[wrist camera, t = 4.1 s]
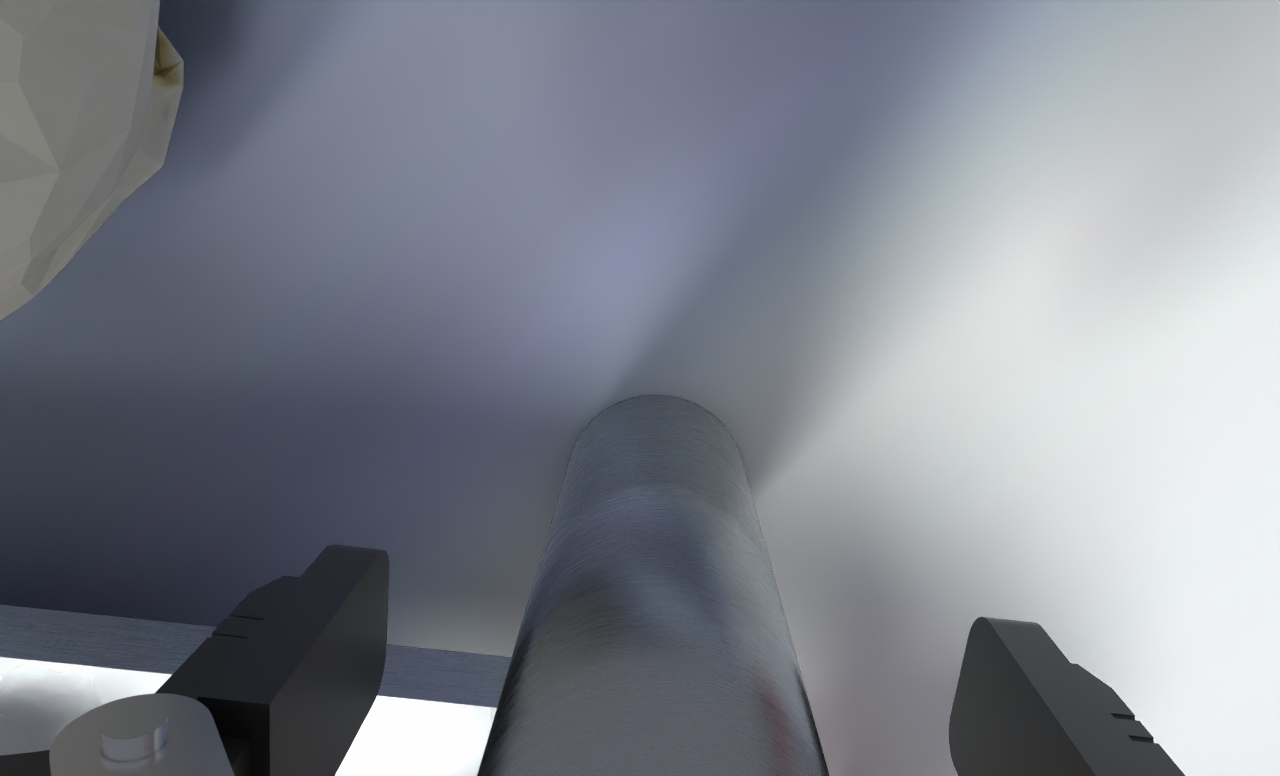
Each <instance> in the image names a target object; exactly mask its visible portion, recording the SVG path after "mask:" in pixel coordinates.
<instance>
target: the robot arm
mask: <svg viewBox="0 0 1280 776" xmlns="http://www.w3.org/2000/svg"><path fill="white" fill-rule="evenodd" d="M388 586H389V560H388V555H387V553H386V551H385V550H377V549H368V548H359V547H350V546H341V545H329V546H327V547H326V548H325V549H324V551H323V552H322V553H321V554H320V555H319V556H318V557H317V559H316V560H315V561H314V562H313V563H312V564H311V566H310V567H309V568H308V569H307V570H306V571H305V572H304V574H303V575H302V576H301V577H300V578H299V577H289V576H282V577H280V578H278V579H276V580H274V581H272V582H270V583H268V584H266V585H264V586H263V587H261V588H259V589H257V590H255V591H253V592H251V593H249V595H248V596H247V597H246V598H245V599H244V600H243V601H242V602H241V603H240V604H239V605H238V606H237V607H236V608H235V609H234V610H233V611H232V612H231V613H230V614H229V619H225V620H224V621H223V622H222V623H221V624H220V625H219V626H218V627H217V628H216V629H215V630H214V631H213V632H212V636H211V638H207V639H206V640H205V641H204V642H203V643H202V644H201V645H200V646H199V647H198V648H197V649H196V650H195V651H194V652H193V653H192V654H191V655H190V657H189V658H188V659H187V660H186V661H185V662H184V663H183V664H182V665H181V666H180V667H179V668H178V669H177V670H176V671H175V672H174V673H173V674H172V675H171V676H170V678H169V679H168V680H167V681H166V682H165V683H164V684H163V685H162V686H161V687H160V688H159V689H158V690H157V691H156V692H155V693H154V694H143V695H136V696H131V697H126V698H122V699H118V700H115V701H111V702H109V703H106V704H103V705H101V706H98V707H96V708H94V709H92V710H90V711H88V712H86V713H84V714H83V715H81V716H79V717H78V718H76V719H75V720H73V721H72V722H71V723H69V724H68V725H67V726H66V727H65V728H64V729H63V730H62V731H61V732H60V733H59V734H58V735H57V737H56V738H55V740H54V741H53V743H52V746H51V748H50V750H45V751H38V752H29V753H20V754H10V755H0V776H335V775H336V773H337V771H338V769H339V767H340V766H341V764H342V762H343V760H344V758H345V756H346V754H347V752H348V751H349V749H350V747H351V745H352V743H353V741H354V739H355V737H356V736H357V734H358V732H359V730H360V728H361V726H362V724H363V722H364V721H365V719H366V717H367V715H368V713H369V711H370V709H371V707H372V706H373V704H374V702H375V700H376V697H377V695H378V692H379V689H380V685H381V681H382V677H383V672H384V667H385V659H386V642H387V614H388ZM949 744H950V752H951V757H952V761H953V764H954V767H955V769H956V771H957V773H958V775H959V776H1185V775H1184V774H1183V773H1182V771H1181V770H1180V769H1179V768H1178V767H1177V765H1176V764H1175V763H1174V762H1173V761H1172V759H1171V758H1170V757H1169V756H1168V755H1167V753H1166V752H1165V751H1164V750H1163V749H1162V747H1161V746H1160V745H1159V744H1156V743H1154V742H1153V737H1152V736H1151V734H1150V733H1149V732H1148V731H1147V730H1146V728H1145V727H1144V726H1143V725H1142V724H1141V722H1140V721H1135V715H1134V714H1133V713H1132V712H1131V710H1130V709H1129V708H1128V707H1127V706H1126V705H1125V703H1124V702H1123V701H1122V700H1121V699H1120V697H1119V696H1118V695H1117V694H1116V693H1115V691H1114V690H1113V689H1112V688H1110V687H1109V686H1108V685H1106V684H1105V683H1103V682H1102V681H1101V680H1099V679H1098V678H1096V677H1095V676H1093V675H1092V674H1091V673H1089V672H1088V671H1086V670H1085V669H1084V668H1082V667H1081V666H1079V665H1078V664H1071V663H1070V662H1069V661H1068V659H1067V658H1066V657H1065V656H1064V654H1063V653H1062V652H1061V651H1060V649H1059V648H1058V647H1057V646H1056V644H1055V643H1054V642H1053V641H1052V639H1051V638H1050V637H1049V636H1048V634H1047V633H1046V632H1045V631H1044V629H1043V628H1042V627H1041V626H1040V625H1039V624H1037V623H1032V622H1023V621H1014V620H1004V619H995V618H986V617H979V618H978V619H976V620H975V622H974V623H973V625H972V627H971V630H970V633H969V636H968V641H967V645H966V650H965V654H964V658H963V663H962V667H961V672H960V676H959V681H958V685H957V689H956V694H955V698H954V703H953V707H952V712H951V717H950V724H949Z"/></svg>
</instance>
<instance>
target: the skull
mask: <svg viewBox="0 0 1280 776" xmlns="http://www.w3.org/2000/svg"><path fill="white" fill-rule="evenodd" d="M159 8H160V0H0V321H1V320H2V319H4V318H5V317H7V316H8V315H10V314H11V313H12V312H14V311H15V310H17V309H18V308H20V307H21V306H22V305H24V304H25V303H27V302H28V301H30V300H31V299H32V298H34V297H35V296H36V295H37V294H38V293H39V292H40V291H41V290H42V289H43V288H44V287H45V286H46V285H47V284H48V283H49V282H50V281H51V280H52V279H53V278H54V277H55V276H56V275H57V274H58V273H59V272H60V271H61V270H62V269H63V268H64V267H65V266H66V265H67V264H68V263H69V261H70V260H71V259H72V258H73V257H74V256H75V255H76V254H77V252H78V251H79V250H80V249H81V248H82V247H83V246H84V245H85V243H86V242H87V241H88V240H89V239H90V238H91V237H92V235H93V234H94V233H95V232H96V231H97V230H98V229H99V228H100V226H101V225H102V224H103V223H104V222H105V221H106V220H107V218H108V217H109V216H110V215H111V214H112V213H113V212H114V211H115V209H116V208H117V207H118V206H119V205H120V204H121V203H122V201H124V200H125V199H126V198H127V197H128V196H129V195H131V194H132V193H133V192H134V191H135V190H136V189H137V188H139V187H140V186H141V185H142V184H143V183H144V182H146V181H147V180H148V179H149V178H150V177H151V176H153V175H154V174H155V173H156V172H157V171H158V170H159V169H161V168H162V167H163V165H164V161H165V157H166V153H167V150H168V146H169V142H170V138H171V134H172V130H173V126H174V122H175V119H176V115H177V111H178V107H179V103H180V99H181V95H182V91H183V82H184V61H183V59H182V58H181V56H180V55H179V54H178V52H177V51H176V50H175V48H174V47H173V45H172V44H171V43H170V41H169V40H168V38H167V37H166V36H165V34H164V33H163V32H162V30H161V29H160V27H159V26H158V19H159Z"/></svg>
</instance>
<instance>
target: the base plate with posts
mask: <svg viewBox="0 0 1280 776" xmlns="http://www.w3.org/2000/svg"><path fill="white" fill-rule="evenodd" d="M216 628H217V627H213V626H203V625H194V624H184V623H174V622H164V621H155V620H145V619H135V618H125V617H116V616H106V615H96V614H87V613H77V612H67V611H57V610H48V609H38V608H28V607H18V606H9V605H0V755H10V754H20V753H29V752H38V751H45V750H50V748H51V746H52V743H53V741H54V740H55V738H56V737H57V735H58V734H59V733H60V732H61V731H62V730H63V729H64V728H65V727H66V726H67V725H68V724H69V723H71V722H72V721H73V720H75V719H76V718H78V717H79V716H81V715H83V714H84V713H86V712H88V711H90V710H92V709H94V708H96V707H98V706H101V705H103V704H106V703H109V702H111V701H115V700H118V699H122V698H126V697H131V696H136V695H143V694H154V693H155V692H156V691H157V690H158V689H159V688H160V687H161V686H162V685H163V684H164V683H165V682H166V681H167V680H168V679H169V678H170V676H171V675H172V674H173V673H174V672H175V671H176V670H177V669H178V668H179V667H180V666H181V665H182V664H183V663H184V662H185V661H186V660H187V659H188V658H189V657H190V655H191V654H192V653H193V652H194V651H195V650H196V649H197V648H198V647H199V646H200V645H201V644H202V643H203V642H204V641H205V640H206V639H207V638H211V636H212V632H213V631H214V630H215V629H216ZM511 659H512V657H505V656H495V655H485V654H476V653H466V652H456V651H446V650H437V649H427V648H417V647H408V646H398V645H388V644H386V659H385V667H384V672H383V677H382V681H381V685H380V689H379V692H378V695H377V697H376V700H375V702H374V704H373V706H372V707H371V709H370V711H369V713H368V715H367V717H366V719H365V721H364V722H363V724H362V726H361V728H360V730H359V732H358V734H357V736H356V737H355V739H354V741H353V743H352V745H351V747H350V749H349V751H348V752H347V754H346V756H345V758H344V760H343V762H342V764H341V766H340V767H339V769H338V771H337V773H336V775H335V776H477V774H478V771H479V767H480V764H481V761H482V757H483V754H484V750H485V747H486V744H487V740H488V737H489V733H490V730H491V727H492V723H493V720H494V716H495V713H496V710H497V706H498V703H499V699H500V696H501V693H502V689H503V686H504V682H505V679H506V676H507V672H508V669H509V665H510V662H511Z"/></svg>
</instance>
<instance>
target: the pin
mask: <svg viewBox="0 0 1280 776" xmlns="http://www.w3.org/2000/svg"><path fill="white" fill-rule="evenodd" d="M477 776H829V773H828V769H827V765H826V762H825V758H824V754H823V751H822V747H821V744H820V740H819V736H818V733H817V729H816V726H815V722H814V718H813V715H812V711H811V708H810V704H809V700H808V697H807V693H806V690H805V686H804V682H803V679H802V675H801V671H800V668H799V664H798V661H797V657H796V653H795V650H794V646H793V643H792V639H791V635H790V632H789V628H788V625H787V621H786V617H785V614H784V610H783V607H782V603H781V599H780V596H779V592H778V588H777V585H776V581H775V578H774V574H773V570H772V567H771V563H770V560H769V556H768V552H767V549H766V545H765V542H764V538H763V534H762V531H761V527H760V524H759V520H758V516H757V513H756V509H755V506H754V502H753V498H752V495H751V491H750V487H749V484H748V480H747V477H746V473H745V469H744V466H743V462H742V459H741V455H740V453H739V450H738V447H737V445H736V443H735V441H734V439H733V437H732V436H731V434H730V433H729V431H728V430H727V429H726V427H725V426H724V425H723V424H722V423H721V422H720V421H719V420H718V419H717V418H716V417H715V416H713V415H712V414H711V413H710V412H708V411H707V410H705V409H704V408H702V407H700V406H699V405H696V404H694V403H692V402H690V401H687V400H684V399H681V398H677V397H672V396H666V395H647V396H639V397H635V398H630V399H627V400H624V401H622V402H619V403H617V404H615V405H613V406H611V407H609V408H608V409H606V410H605V411H603V412H602V413H600V414H599V415H598V416H597V417H596V418H594V419H593V420H592V421H591V422H590V423H589V425H588V426H587V427H586V428H585V429H584V431H583V432H582V434H581V435H580V437H579V438H578V440H577V442H576V444H575V446H574V449H573V451H572V455H571V458H570V461H569V465H568V468H567V472H566V475H565V478H564V482H563V485H562V489H561V492H560V495H559V499H558V502H557V506H556V509H555V512H554V516H553V519H552V523H551V526H550V529H549V533H548V536H547V540H546V543H545V546H544V550H543V553H542V557H541V560H540V563H539V567H538V570H537V574H536V577H535V580H534V584H533V587H532V591H531V594H530V597H529V601H528V604H527V608H526V611H525V614H524V618H523V621H522V625H521V628H520V631H519V635H518V638H517V642H516V645H515V648H514V652H513V655H512V659H511V662H510V665H509V669H508V672H507V676H506V679H505V682H504V686H503V689H502V693H501V696H500V699H499V703H498V706H497V710H496V713H495V716H494V720H493V723H492V727H491V730H490V733H489V737H488V740H487V744H486V747H485V750H484V754H483V757H482V761H481V764H480V767H479V771H478V774H477Z"/></svg>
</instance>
